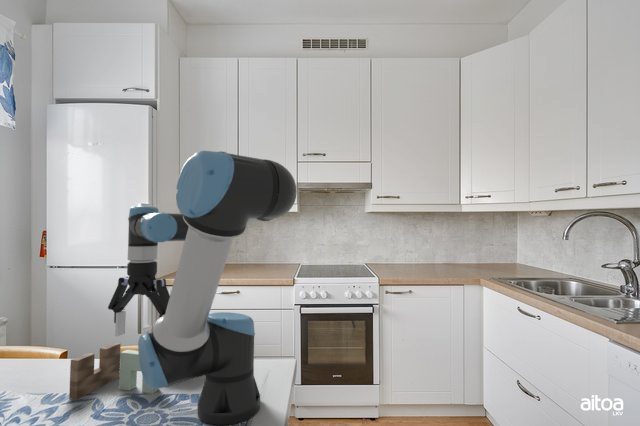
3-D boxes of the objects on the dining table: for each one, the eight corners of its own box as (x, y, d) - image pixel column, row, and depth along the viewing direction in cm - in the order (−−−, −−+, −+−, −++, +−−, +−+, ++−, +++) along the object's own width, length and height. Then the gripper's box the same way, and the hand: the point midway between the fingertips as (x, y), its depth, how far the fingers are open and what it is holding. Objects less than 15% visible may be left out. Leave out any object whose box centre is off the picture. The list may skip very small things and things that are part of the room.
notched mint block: (159, 389, 96) (160, 353, 96) (153, 393, 94) (154, 356, 94) (126, 385, 99) (127, 349, 99) (119, 388, 96) (120, 352, 97)
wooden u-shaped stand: (112, 376, 104) (114, 342, 105) (119, 377, 104) (120, 343, 104) (69, 398, 91) (70, 359, 91) (76, 399, 90) (77, 360, 91)
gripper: (189, 261, 98) (187, 336, 98) (116, 258, 104) (114, 329, 104) (172, 264, 91) (169, 345, 90) (95, 260, 97) (92, 337, 96)
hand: (140, 337), depth 97 cm, fingers open, 13 cm apart
